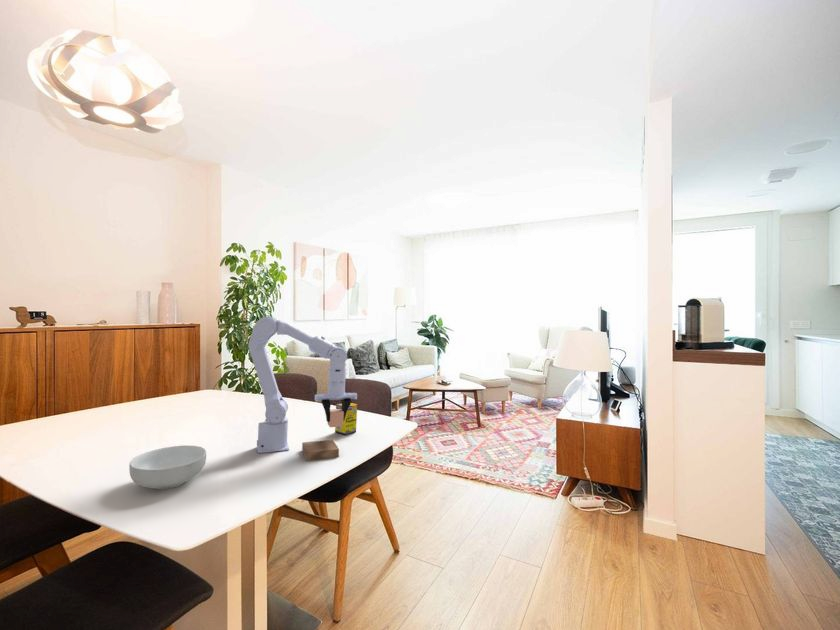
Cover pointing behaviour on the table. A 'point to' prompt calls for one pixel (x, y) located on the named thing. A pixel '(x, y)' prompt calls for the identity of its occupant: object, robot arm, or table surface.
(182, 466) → the cereal bowl
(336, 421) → the terracotta block
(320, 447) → the walnut base
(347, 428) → the supplement box
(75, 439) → the table surface
